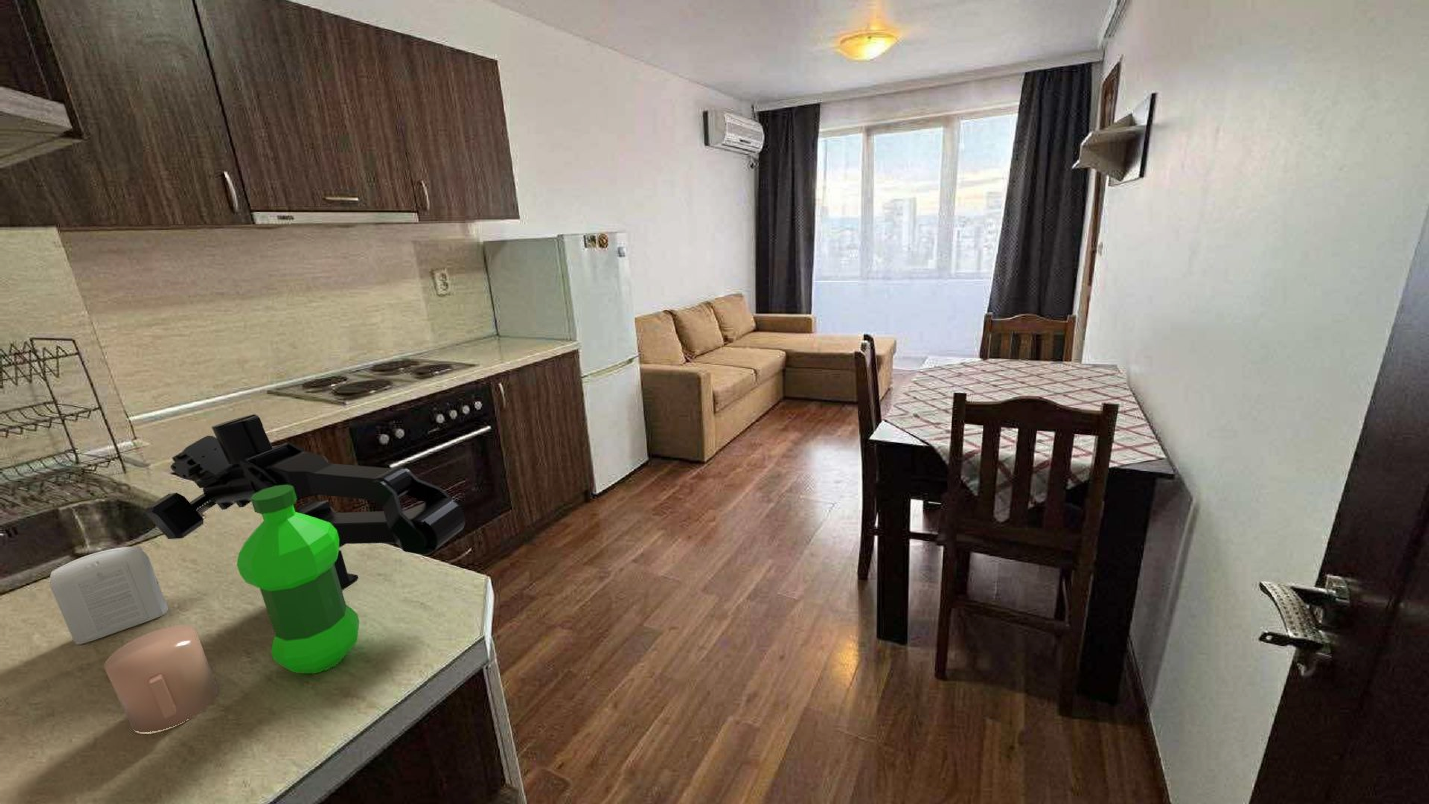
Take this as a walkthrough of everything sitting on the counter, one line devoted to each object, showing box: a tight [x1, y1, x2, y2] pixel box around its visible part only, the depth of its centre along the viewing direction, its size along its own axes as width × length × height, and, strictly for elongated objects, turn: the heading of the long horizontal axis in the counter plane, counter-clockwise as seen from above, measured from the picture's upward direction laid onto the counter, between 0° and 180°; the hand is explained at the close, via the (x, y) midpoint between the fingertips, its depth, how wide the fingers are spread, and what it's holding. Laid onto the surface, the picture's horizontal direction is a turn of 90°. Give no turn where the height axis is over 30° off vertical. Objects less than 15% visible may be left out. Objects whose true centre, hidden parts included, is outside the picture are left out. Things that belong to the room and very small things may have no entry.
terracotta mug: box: [103, 624, 219, 732], centre depth 69 cm, size 9×8×9 cm
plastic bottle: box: [236, 485, 360, 675], centre depth 74 cm, size 10×10×25 cm
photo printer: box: [49, 545, 169, 645], centre depth 85 cm, size 10×4×12 cm, turn 134°
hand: (186, 492), depth 96 cm, fingers open, 9 cm apart
